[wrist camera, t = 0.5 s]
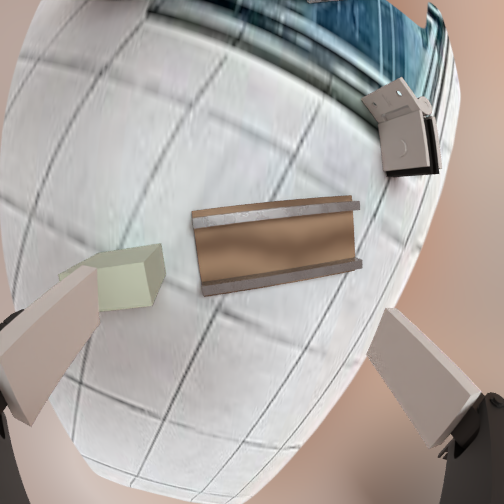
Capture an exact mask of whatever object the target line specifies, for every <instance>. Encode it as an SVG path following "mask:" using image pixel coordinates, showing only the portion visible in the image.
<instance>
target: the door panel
mask: <svg viewBox="0 0 504 504" xmlns="http://www.w3.org/2000/svg"><path fill="white" fill-rule="evenodd" d="M82 265H85V266H90V267H95V268H97V283H98V304H99V312H102V311H112V310H121V309H130V308H139V307H147V306H153V303H154V301H155V298H156V296H157V294H158V291H159V289H160V287H161V284H162V282H163V280H164V277H165V275H166V270H165V264H164V258H163V252H162V246H161V243H160V244H153V245H147V246H140V247H134V248H127V249H121V250H114V251H108V252H102V253H97V254H96V255H94V256H92V257H90V258H88V259H86V260H84V261H82V262H80V263H79V264H77V265H75V266H73V267H71V268H69V269H68V270H66V271H64V272H62V273H60V274H59V275H58V276H59V281H61V280H63V279H64V278H65V277H67V276H68V275H69V274H71V273H72V272H74V271H75V270H76V269H78V268H79V267H80V266H82Z"/></svg>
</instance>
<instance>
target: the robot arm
mask: <svg viewBox="0 0 504 504" xmlns="http://www.w3.org/2000/svg"><path fill="white" fill-rule="evenodd" d="M99 324H100V318H99V304H98V283H97V268H95V267H90V266H85V265H82V266H80V267H79V268H78V269H76V270H75V271H74V272H72V273H71V274H69V275H68V276H67V277H65V278H64V279H63V280H61V281H60V282H59V283H58V284H56V285H55V286H54V287H52V288H51V289H50V290H49V291H47V292H46V293H45V294H43V295H42V296H41V297H40V298H38V299H37V300H36V301H35V302H34V303H32V304H31V305H30V306H29V307H27V308H26V309H25V310H24V309H22V310H20V311H18V312H15V313H13V314H11V315H10V316H9V317H8V318H6V319H5V320H4V321H3V323H1V324H0V504H30V502H29V499H28V497H27V494H26V491H25V489H24V486H23V483H22V480H21V477H20V474H19V471H18V467H17V464H16V460H15V457H14V453H13V449H12V445H11V440H10V436H9V431H8V425H7V420H6V416H5V414H4V412H3V410H4V409H5V408H6V406H7V405H8V407H9V409H10V411H11V413H12V415H13V416H14V417H15V418H16V419H18V420H20V421H22V422H23V423H25V424H27V425H29V426H32V425H33V423H34V421H35V420H36V418H37V416H38V414H39V413H40V411H41V409H42V408H43V406H44V405H45V403H46V401H47V400H48V398H49V396H50V395H51V393H52V392H53V390H54V389H55V387H56V386H57V384H58V382H59V381H60V379H61V378H62V376H63V375H64V373H65V372H66V370H67V369H68V367H69V366H70V364H71V363H72V362H73V360H74V359H75V357H76V356H77V354H78V353H79V352H80V350H81V349H82V347H83V346H84V345H85V343H86V342H87V340H88V339H89V338H90V336H91V335H92V333H93V332H94V331H95V329H96V328H97V327H98V325H99ZM366 355H367V357H368V358H369V360H370V361H371V362H372V364H373V365H374V367H375V368H376V370H377V371H378V373H379V374H380V375H381V377H382V378H383V380H384V381H385V383H386V384H387V386H388V387H389V389H390V390H391V392H392V393H393V395H394V396H395V398H396V399H397V401H398V402H399V404H400V405H401V407H402V408H403V410H404V411H405V413H406V414H407V416H408V417H409V419H410V421H411V422H412V423H413V425H414V427H415V428H416V430H417V431H418V433H419V434H420V436H421V438H422V439H423V441H424V442H425V444H426V446H427V447H428V449H431V448H433V447H436V446H438V445H441V444H442V443H443V442H444V440H445V439H446V438H447V437H448V436H449V435H450V434H451V435H452V436H453V437H454V438H453V439H452V440H451V441H450V442H449V443H448V444H447V446H446V447H445V448H444V449H443V450H442V451H441V452H440V453H439V455H438V458H440V457H441V456H442V455H443V454H444V453H445V452H448V453H447V454H446V455H445V456H444V457H443V459H446V460H447V464H446V471H445V478H444V484H443V489H442V494H441V499H440V504H504V399H503V398H502V397H501V396H500V395H498V394H496V393H491V392H490V393H487V395H486V396H484V395H483V394H482V393H481V392H482V391H481V390H480V389H479V388H478V387H477V386H476V385H475V384H474V383H473V382H472V381H471V380H470V379H469V377H468V376H467V375H466V374H465V373H464V372H463V371H462V370H461V369H460V368H459V367H458V366H457V365H456V364H455V363H454V362H453V361H452V360H451V359H450V358H449V357H448V356H447V355H446V354H445V353H444V352H443V351H441V349H440V348H439V347H438V346H436V345H435V344H434V343H433V342H432V341H431V340H430V339H429V338H428V337H427V336H426V335H425V334H424V333H422V331H421V330H420V329H419V328H417V327H416V326H415V325H414V324H413V323H412V322H411V321H410V320H409V319H408V318H407V317H406V316H404V315H403V314H402V313H401V312H400V311H399V310H398V309H393V308H385V311H384V313H383V316H382V318H381V321H380V323H379V326H378V328H377V331H376V333H375V336H374V338H373V340H372V343H371V345H370V347H369V350H368V352H367V354H366Z"/></svg>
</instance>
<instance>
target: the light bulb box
mask: <svg viewBox="0 0 504 504" xmlns="http://www.w3.org/2000/svg"><path fill="white" fill-rule="evenodd" d="M325 1H337V0H307V2H308V3H315V2H325Z"/></svg>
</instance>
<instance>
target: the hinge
mask: <svg viewBox="0 0 504 504" xmlns="http://www.w3.org/2000/svg"><path fill="white" fill-rule="evenodd" d="M397 91H400V92H401V94H402V96H401V95H399V94H398V93H397ZM361 100H362V101H363V103H364V104H365V105H366V107H367V108H368V109H369V111H370V112H371V113H372V115H373V116H374V117H375V119H376V120H377V122H378V123H379V124H378V129H379V136H380V144H381V153H382V163H383V171H386V175H387V177H403V176H416V175H430V174H439V169H442V163H441V154H440V146H439V138H438V132H437V126H436V120H435V117H433V116H430V117H425V116H426V115H430V114H431V113H432V106H431V104H430V102H429V100H428V99H426V98H425V97H419V98H416V96H415V95H414V93H413V92H412V90H411V89H410V88H409V86H408V85H407V83H406V82H405V81H404V79H403V78H402V77H401V78H399V79H397V80H395V81H393V82H391V83H389V84H387V85H385V86H383V87H381V88H380V89H378V90H376V91H374V92H372V93H370V94H368V95H367V96H365V97H363V98H362V99H361ZM373 102H374V103H375V104H376V105H377V107H376V106H375V105H374V104H373Z"/></svg>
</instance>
